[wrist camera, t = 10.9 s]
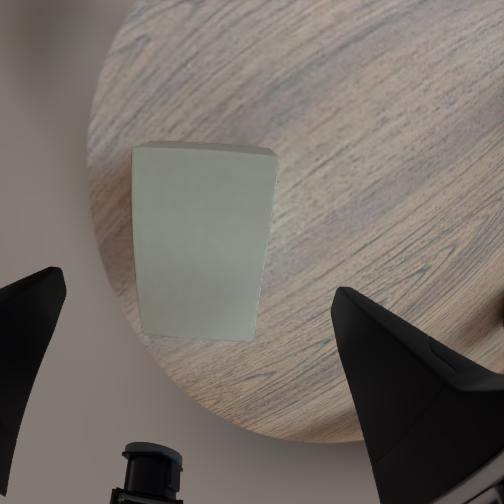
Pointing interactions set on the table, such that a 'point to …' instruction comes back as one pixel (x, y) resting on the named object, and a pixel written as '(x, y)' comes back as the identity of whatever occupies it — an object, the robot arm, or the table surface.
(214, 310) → the cream block
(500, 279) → the table surface
